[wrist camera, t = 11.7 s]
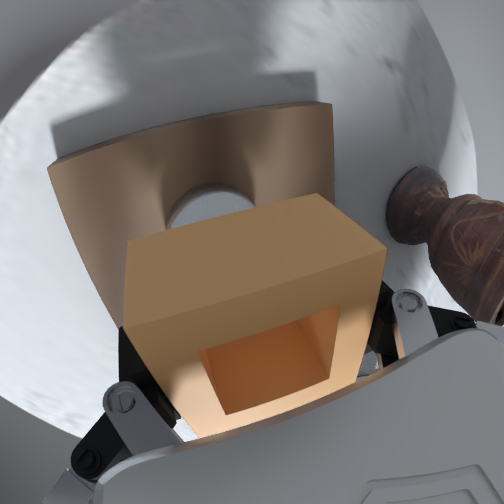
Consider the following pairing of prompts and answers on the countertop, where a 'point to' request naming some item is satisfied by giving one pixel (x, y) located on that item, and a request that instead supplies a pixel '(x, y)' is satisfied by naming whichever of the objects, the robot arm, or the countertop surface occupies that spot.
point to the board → (186, 177)
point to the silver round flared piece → (207, 204)
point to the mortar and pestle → (454, 240)
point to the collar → (253, 309)
